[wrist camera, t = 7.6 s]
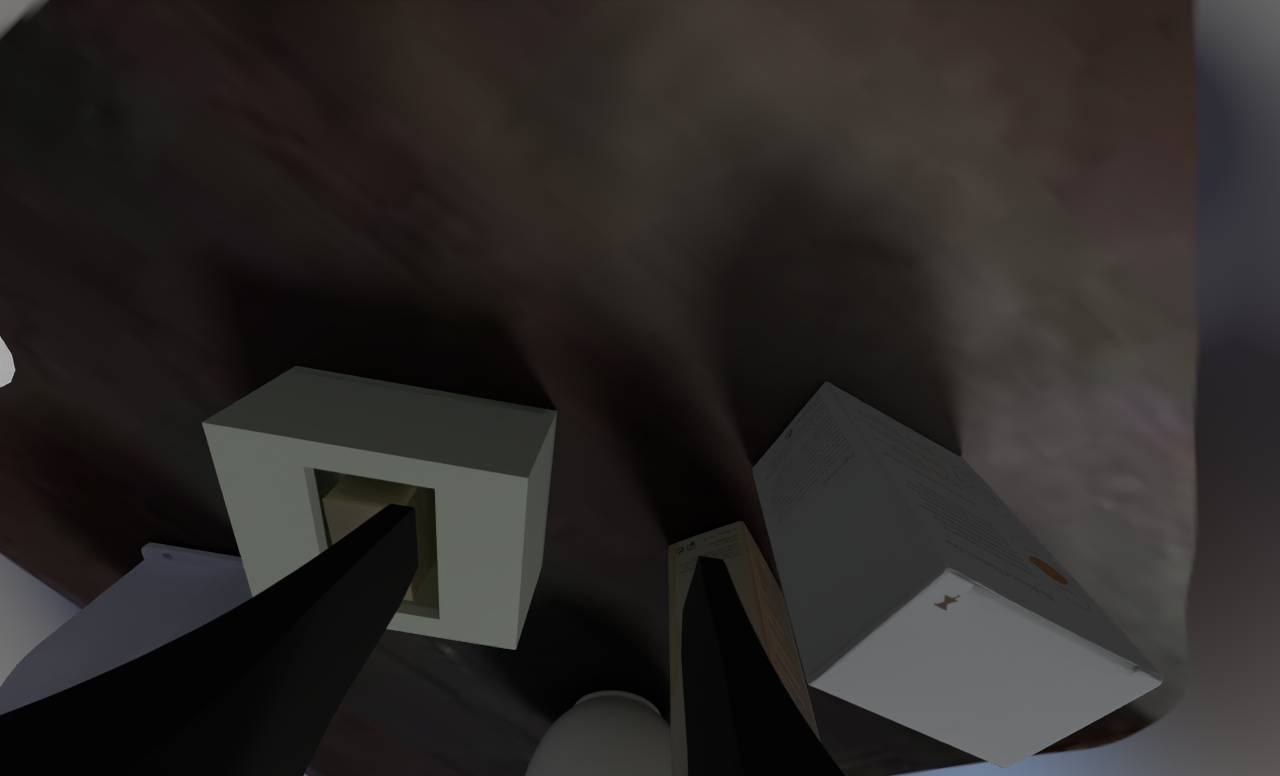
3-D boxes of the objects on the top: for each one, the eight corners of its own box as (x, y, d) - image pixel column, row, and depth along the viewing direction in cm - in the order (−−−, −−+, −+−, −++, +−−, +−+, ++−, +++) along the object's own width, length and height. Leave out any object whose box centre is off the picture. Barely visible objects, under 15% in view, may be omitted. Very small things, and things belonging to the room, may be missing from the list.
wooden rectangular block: (400, 511, 25) (342, 591, 21) (390, 429, 23) (322, 499, 19) (458, 519, 25) (412, 601, 21) (453, 438, 23) (401, 510, 19)
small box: (748, 466, 23) (797, 686, 14) (825, 374, 21) (946, 566, 12) (881, 536, 25) (1006, 777, 15) (967, 457, 22) (1175, 687, 13)
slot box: (324, 529, 27) (255, 607, 23) (296, 365, 22) (201, 422, 18) (541, 566, 27) (515, 650, 23) (556, 411, 23) (528, 478, 18)
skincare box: (666, 542, 26) (659, 833, 15) (745, 515, 25) (801, 810, 14) (714, 617, 28) (738, 916, 17) (789, 596, 27) (864, 902, 16)
